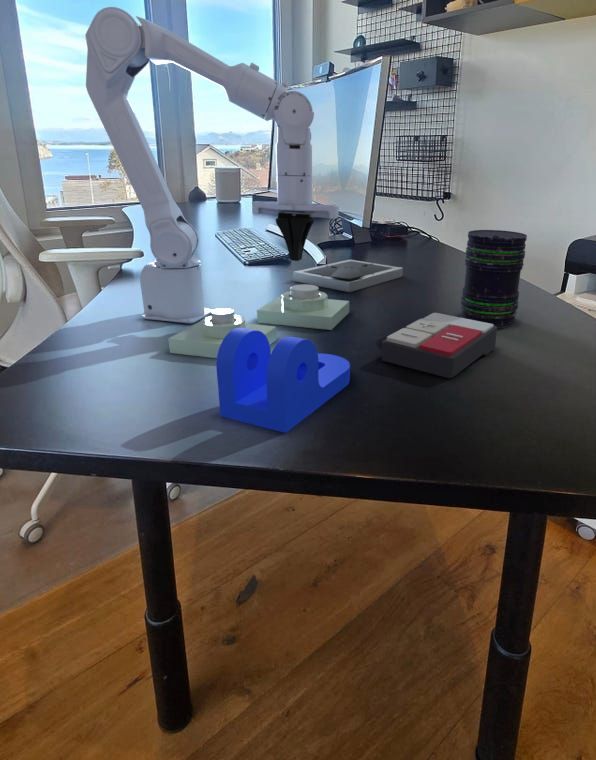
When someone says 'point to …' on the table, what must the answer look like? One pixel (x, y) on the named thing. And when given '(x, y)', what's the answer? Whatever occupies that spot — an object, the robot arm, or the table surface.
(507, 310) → the storage jar
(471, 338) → the calculator
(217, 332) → the pale green button base
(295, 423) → the bracket
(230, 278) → the table surface
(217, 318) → the half button
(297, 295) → the full button
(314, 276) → the picture frame
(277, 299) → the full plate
